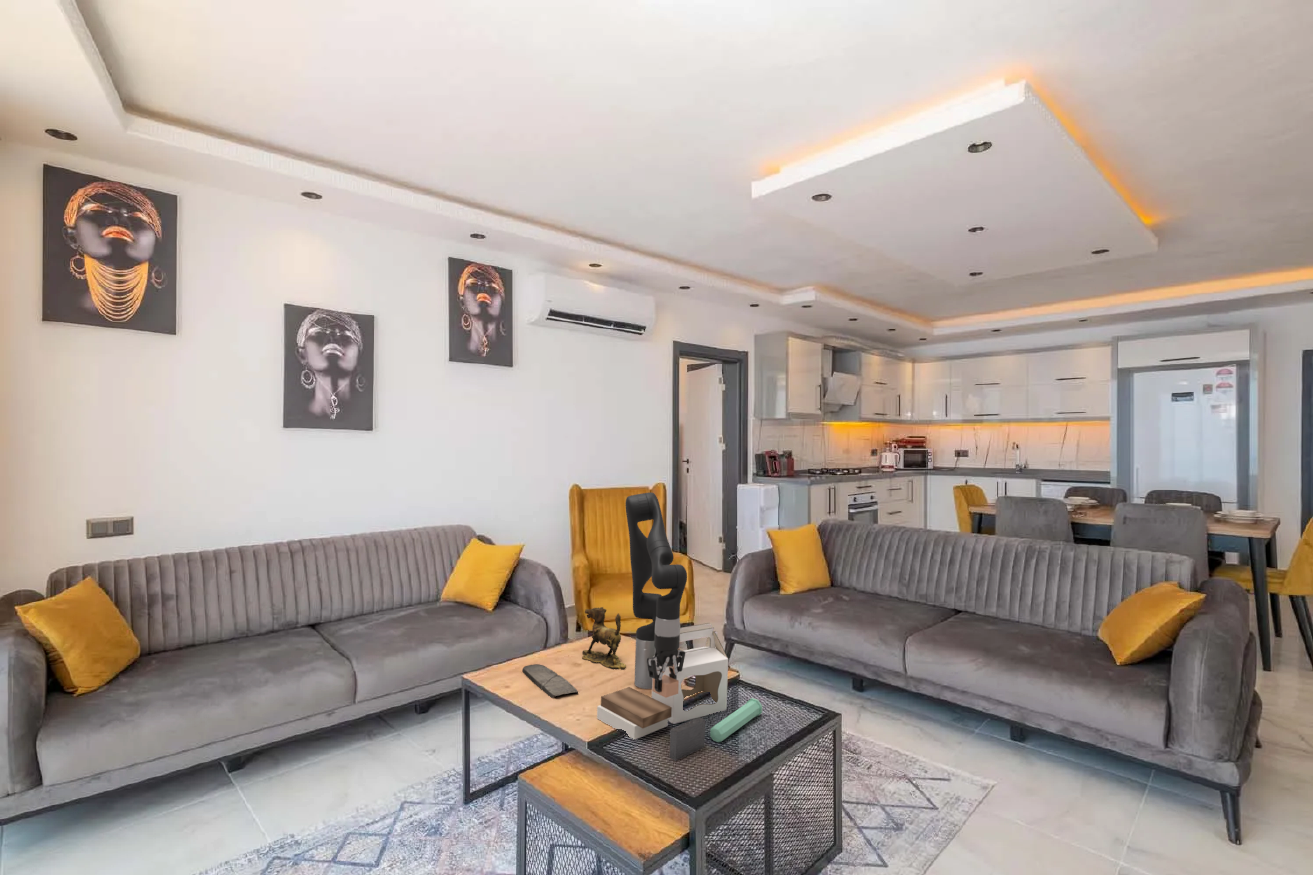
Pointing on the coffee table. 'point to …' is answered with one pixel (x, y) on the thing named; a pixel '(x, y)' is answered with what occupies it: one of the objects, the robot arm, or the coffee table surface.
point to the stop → (687, 738)
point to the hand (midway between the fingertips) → (665, 688)
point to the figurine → (604, 640)
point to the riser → (627, 723)
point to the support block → (667, 686)
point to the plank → (636, 707)
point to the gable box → (699, 675)
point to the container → (736, 720)
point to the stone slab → (548, 680)
